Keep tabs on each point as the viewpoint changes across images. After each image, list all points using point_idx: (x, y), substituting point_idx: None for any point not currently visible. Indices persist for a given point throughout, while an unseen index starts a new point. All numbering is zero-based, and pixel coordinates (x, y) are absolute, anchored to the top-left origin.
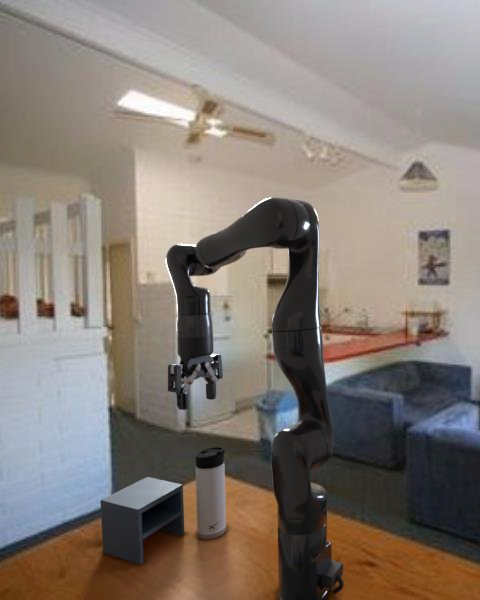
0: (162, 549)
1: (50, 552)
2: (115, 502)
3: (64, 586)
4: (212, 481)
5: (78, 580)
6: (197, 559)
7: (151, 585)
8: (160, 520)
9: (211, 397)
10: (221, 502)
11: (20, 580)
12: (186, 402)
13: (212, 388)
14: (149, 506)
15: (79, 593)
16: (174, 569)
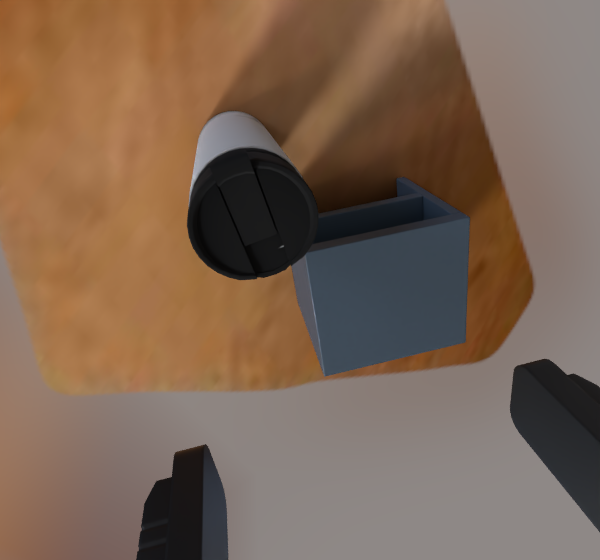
0: (346, 188)
1: (442, 350)
2: (461, 303)
3: (500, 232)
4: (272, 144)
5: (480, 229)
6: (333, 73)
7: (444, 82)
8: (357, 223)
9: (211, 470)
10: (231, 123)
11: (509, 307)
12: (584, 398)
13: (206, 556)
14: (428, 222)
15: (505, 189)
16: (385, 89)
